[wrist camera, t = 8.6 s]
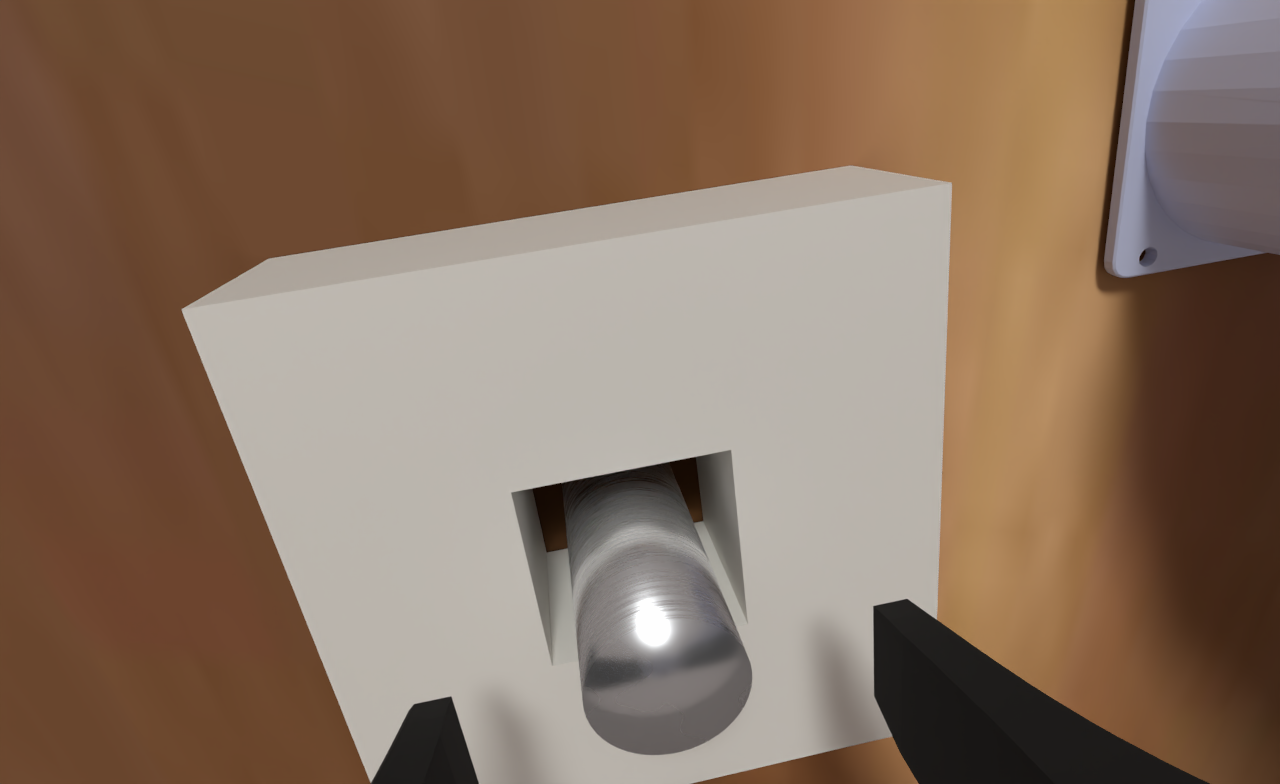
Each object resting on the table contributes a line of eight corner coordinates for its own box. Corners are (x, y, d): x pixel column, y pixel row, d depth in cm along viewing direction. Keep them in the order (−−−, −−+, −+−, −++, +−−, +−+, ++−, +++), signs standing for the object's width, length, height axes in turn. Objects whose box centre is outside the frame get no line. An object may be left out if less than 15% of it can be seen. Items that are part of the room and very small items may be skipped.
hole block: (851, 165, 17) (952, 182, 13) (859, 615, 23) (932, 726, 19) (268, 258, 16) (181, 309, 12) (422, 710, 22) (398, 852, 18)
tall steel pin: (684, 440, 20) (779, 639, 12) (645, 530, 21) (712, 766, 13) (582, 410, 19) (618, 603, 11) (546, 505, 20) (559, 740, 12)
